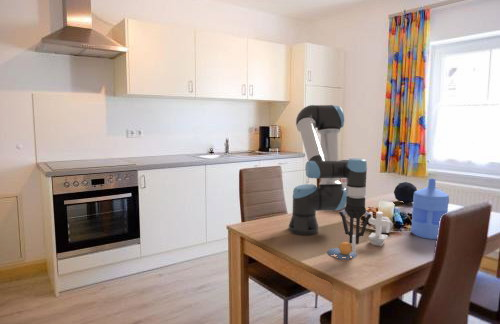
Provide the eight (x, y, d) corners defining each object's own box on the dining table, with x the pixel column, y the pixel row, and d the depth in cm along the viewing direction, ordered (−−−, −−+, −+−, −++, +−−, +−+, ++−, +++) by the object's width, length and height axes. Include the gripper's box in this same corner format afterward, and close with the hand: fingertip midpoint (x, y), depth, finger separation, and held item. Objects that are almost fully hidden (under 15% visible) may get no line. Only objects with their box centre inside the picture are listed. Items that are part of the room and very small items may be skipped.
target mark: (325, 256, 147) (325, 256, 147) (329, 246, 158) (329, 246, 158) (355, 261, 142) (355, 260, 142) (357, 250, 153) (357, 250, 153)
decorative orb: (391, 191, 248) (394, 176, 238) (414, 192, 244) (418, 178, 234) (393, 207, 238) (395, 193, 228) (417, 208, 234) (421, 194, 224)
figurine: (386, 248, 156) (388, 215, 154) (365, 243, 162) (366, 212, 160) (390, 243, 163) (392, 211, 160) (369, 239, 168) (371, 208, 166)
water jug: (411, 227, 185) (414, 175, 181) (445, 232, 178) (449, 178, 175) (410, 236, 171) (414, 180, 168) (446, 242, 165) (451, 183, 161)
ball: (353, 255, 145) (340, 258, 147) (354, 250, 150) (342, 253, 152) (348, 243, 145) (335, 246, 147) (350, 238, 150) (337, 241, 152)
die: (390, 237, 172) (398, 220, 174) (374, 228, 173) (383, 211, 175) (383, 237, 180) (391, 221, 182) (368, 228, 181) (377, 212, 183)
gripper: (372, 195, 146) (370, 249, 149) (340, 193, 151) (339, 245, 154) (372, 199, 139) (369, 256, 142) (338, 196, 144) (336, 251, 147)
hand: (353, 250), depth 148 cm, fingers closed
